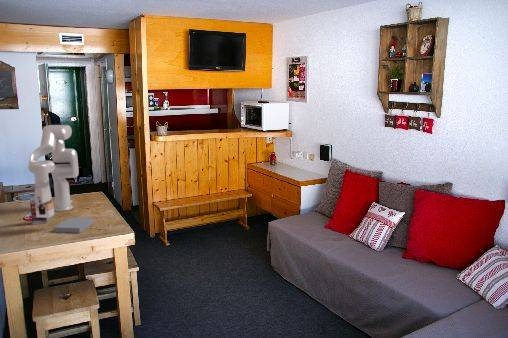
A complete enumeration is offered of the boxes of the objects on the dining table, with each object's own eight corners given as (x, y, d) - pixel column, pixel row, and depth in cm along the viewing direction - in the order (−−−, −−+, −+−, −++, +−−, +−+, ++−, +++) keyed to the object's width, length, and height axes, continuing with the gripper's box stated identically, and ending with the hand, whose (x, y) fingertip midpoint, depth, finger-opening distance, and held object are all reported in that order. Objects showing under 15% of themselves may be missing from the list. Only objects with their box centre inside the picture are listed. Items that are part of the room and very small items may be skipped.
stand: (69, 222, 278) (68, 217, 278) (93, 223, 277) (93, 218, 276) (54, 232, 261) (53, 227, 260) (79, 232, 259) (79, 228, 259)
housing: (42, 214, 268) (40, 201, 266) (54, 214, 267) (53, 202, 265) (36, 217, 262) (35, 204, 260) (49, 217, 261) (47, 205, 259)
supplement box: (32, 225, 273) (29, 200, 270) (32, 222, 277) (29, 198, 274) (47, 223, 277) (45, 198, 274) (47, 220, 281) (44, 197, 278)
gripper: (44, 180, 268) (47, 208, 273) (27, 187, 252) (31, 217, 256) (56, 180, 268) (58, 208, 272) (40, 187, 251) (43, 217, 255)
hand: (45, 212), depth 264 cm, fingers closed on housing, 6 cm apart
